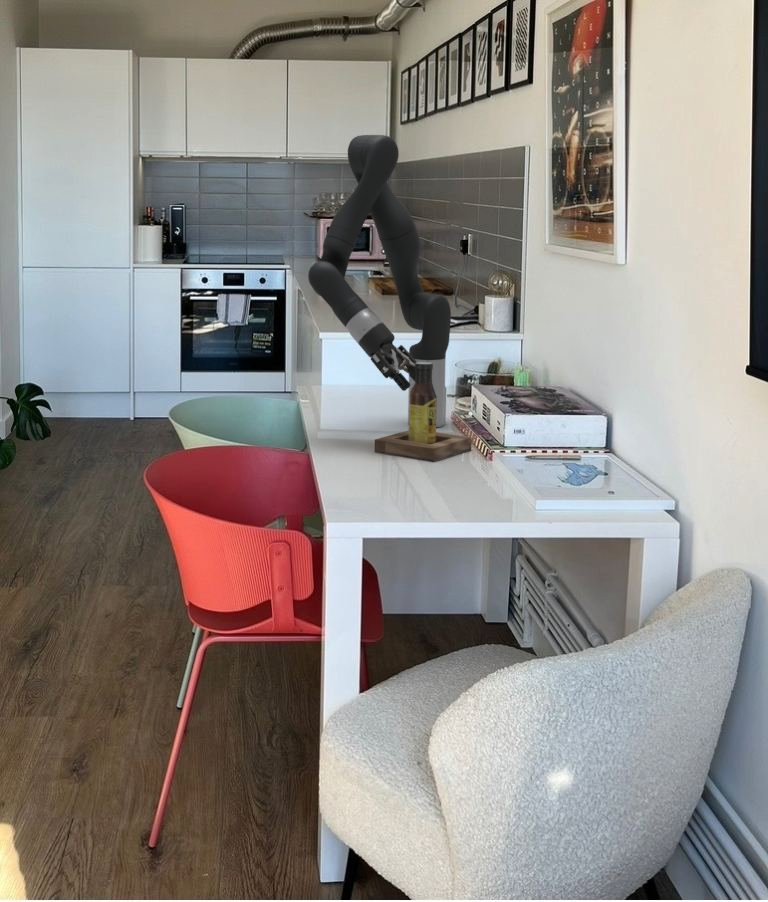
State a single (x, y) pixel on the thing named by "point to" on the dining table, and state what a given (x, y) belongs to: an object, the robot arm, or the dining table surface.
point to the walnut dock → (423, 446)
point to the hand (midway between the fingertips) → (415, 385)
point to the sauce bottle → (423, 406)
